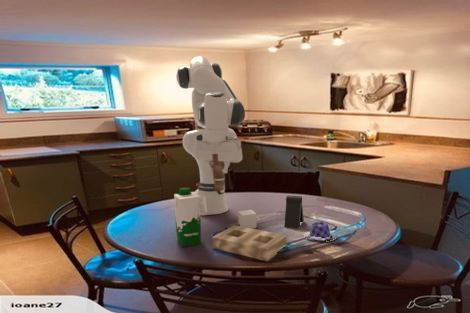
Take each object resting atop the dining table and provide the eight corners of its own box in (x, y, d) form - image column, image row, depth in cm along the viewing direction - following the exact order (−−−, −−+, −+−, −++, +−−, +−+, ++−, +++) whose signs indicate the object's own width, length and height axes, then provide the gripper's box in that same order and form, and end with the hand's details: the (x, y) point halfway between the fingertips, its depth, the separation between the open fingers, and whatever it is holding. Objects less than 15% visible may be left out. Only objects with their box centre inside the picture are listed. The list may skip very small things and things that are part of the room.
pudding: (339, 243, 127) (339, 229, 126) (305, 243, 128) (305, 229, 127) (333, 231, 138) (333, 218, 138) (301, 231, 139) (301, 219, 139)
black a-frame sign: (298, 228, 142) (298, 199, 140) (284, 227, 144) (283, 198, 143) (303, 221, 150) (303, 194, 148) (290, 220, 153) (289, 193, 151)
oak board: (212, 247, 126) (212, 237, 125) (234, 235, 138) (234, 225, 137) (267, 261, 114) (267, 249, 113) (286, 246, 125) (286, 235, 125)
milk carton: (196, 236, 138) (194, 185, 135) (204, 244, 130) (201, 190, 127) (174, 240, 135) (171, 188, 132) (180, 248, 126) (177, 194, 123)
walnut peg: (210, 190, 135) (209, 153, 133) (217, 187, 139) (216, 152, 137) (220, 191, 133) (219, 154, 131) (227, 188, 137) (226, 152, 134)
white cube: (238, 224, 149) (238, 211, 148) (252, 223, 151) (251, 209, 150) (242, 229, 143) (242, 215, 143) (256, 227, 145) (256, 213, 144)
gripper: (245, 136, 130) (246, 173, 132) (201, 134, 141) (203, 168, 143) (235, 137, 125) (236, 176, 127) (191, 136, 136) (192, 171, 138)
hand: (218, 172), depth 135 cm, fingers closed on walnut peg, 4 cm apart
